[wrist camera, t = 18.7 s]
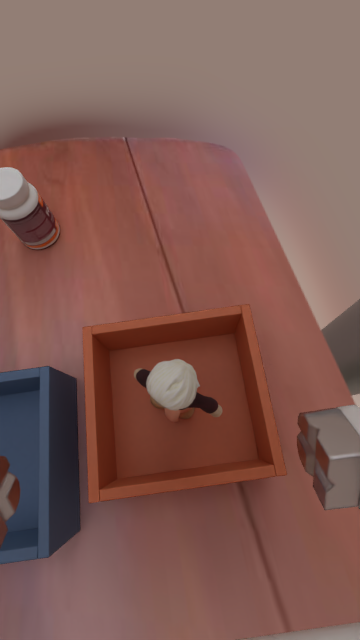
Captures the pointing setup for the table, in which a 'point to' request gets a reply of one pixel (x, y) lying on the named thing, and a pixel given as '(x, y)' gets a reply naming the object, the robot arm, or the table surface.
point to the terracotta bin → (187, 434)
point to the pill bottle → (26, 211)
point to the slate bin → (40, 460)
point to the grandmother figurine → (176, 390)
